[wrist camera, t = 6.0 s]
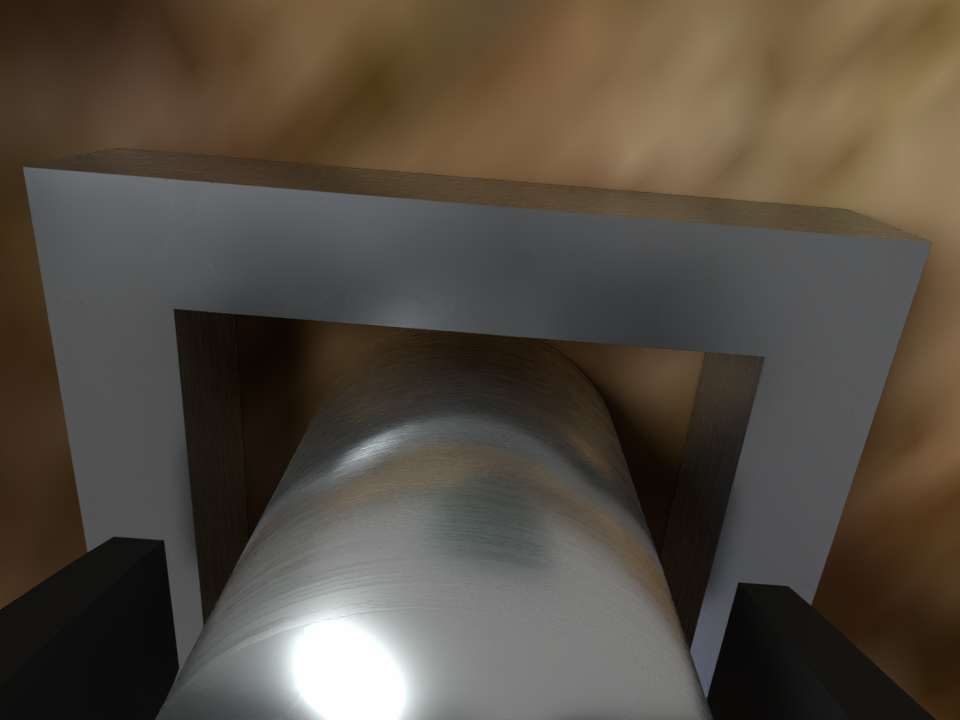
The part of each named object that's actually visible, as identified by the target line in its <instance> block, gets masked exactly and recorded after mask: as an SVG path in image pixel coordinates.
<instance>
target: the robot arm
mask: <svg viewBox="0 0 960 720" xmlns="http://www.w3.org/2000/svg"><path fill="white" fill-rule="evenodd" d="M178 671H179V660H178V652H177V644H176V635H175V627H174V618H173V610H172V602H171V593H170V585H169V577H168V568H167V560H166V551H165V543H164V540H155V539H141V538H128V537H112V538H111V539H109V540H107V541H106V542H104V543H102V544H100V545H99V546H97V547H96V548H94V549H92V550H91V551H89V552H88V553H86V554H84V555H83V556H81V557H80V558H78V559H77V560H75V561H74V562H72V563H71V564H69V565H67V566H66V567H64V568H63V569H61V570H60V571H58V572H57V573H55V574H54V575H52V576H51V577H49V578H48V579H46V580H45V581H43V582H42V583H40V584H39V585H37V586H36V587H34V588H33V589H31V590H30V591H28V592H27V593H25V594H24V595H22V596H21V597H19V598H18V599H16V600H15V601H13V602H12V603H10V604H8V605H7V606H5V607H4V608H2V609H1V610H0V720H155V719H156V717H157V715H158V713H159V711H160V709H161V708H162V706H163V704H164V702H165V700H166V698H167V696H168V694H169V692H170V690H171V688H172V686H173V684H174V681H175V679H176V676H177V673H178ZM706 700H707V703H708V706H709V709H710V712H711V715H712V718H713V720H935V719H934V718H933V717H932V716H931V715H930V714H929V713H928V712H927V711H925V710H924V709H923V708H922V707H921V706H920V705H919V704H918V703H917V702H915V701H914V700H913V699H912V698H911V697H910V696H909V695H908V694H907V693H906V692H904V691H903V690H902V689H901V688H900V687H899V686H898V685H897V684H896V683H895V682H893V681H892V680H891V679H890V678H889V677H888V676H887V675H886V674H885V673H884V672H883V671H882V670H880V669H879V668H878V667H877V666H876V665H875V664H874V663H873V662H872V661H871V660H870V659H869V658H867V657H866V656H865V655H864V654H863V653H862V652H861V651H860V650H859V649H858V648H857V647H856V646H854V645H853V644H852V643H851V642H850V641H849V640H848V639H847V638H846V637H845V636H844V635H843V634H841V633H840V632H839V631H838V630H837V629H836V628H835V627H834V626H833V625H832V624H831V623H830V622H828V621H827V620H826V619H825V618H824V617H823V616H822V615H821V614H820V613H819V612H817V611H816V610H815V609H814V608H813V607H812V606H811V605H810V604H809V603H807V602H806V601H805V600H804V599H803V598H802V597H801V596H799V595H798V594H797V593H796V592H795V591H794V590H792V589H791V588H790V587H789V586H782V585H769V584H755V583H741V582H738V585H737V589H736V593H735V596H734V600H733V604H732V607H731V611H730V615H729V618H728V622H727V626H726V629H725V633H724V637H723V640H722V644H721V648H720V651H719V655H718V659H717V662H716V666H715V670H714V674H713V677H712V681H711V685H710V688H709V692H708V696H707V699H706Z"/></svg>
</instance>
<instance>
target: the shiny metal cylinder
mask: <svg viewBox="0 0 960 720" xmlns="http://www.w3.org/2000/svg"><path fill="white" fill-rule="evenodd" d="M155 720H713V718H712V715H711V712H710V709H709V706H708V703H707V700H706V697H705V694H704V691H703V688H702V685H701V682H700V679H699V676H698V673H697V670H696V667H695V664H694V661H693V658H692V655H691V652H690V650H689V647H688V644H687V641H686V638H685V635H684V632H683V629H682V626H681V623H680V620H679V617H678V614H677V611H676V608H675V605H674V602H673V599H672V596H671V593H670V590H669V587H668V584H667V582H666V579H665V576H664V573H663V570H662V567H661V564H660V561H659V558H658V555H657V552H656V549H655V546H654V543H653V540H652V537H651V534H650V531H649V528H648V525H647V522H646V519H645V516H644V513H643V511H642V508H641V505H640V502H639V499H638V496H637V493H636V490H635V487H634V484H633V481H632V478H631V475H630V472H629V469H628V466H627V463H626V460H625V457H624V454H623V451H622V448H621V445H620V442H619V440H618V437H617V434H616V431H615V428H614V425H613V422H612V419H611V416H610V413H609V411H608V409H607V407H606V405H605V403H604V401H603V399H602V397H601V395H600V394H599V392H598V391H597V390H596V388H595V387H594V385H593V384H592V383H591V381H590V380H589V379H588V378H587V377H586V376H585V375H584V373H583V372H582V371H581V370H580V369H579V368H578V367H577V366H576V365H575V364H574V363H572V362H571V361H570V360H568V359H567V358H566V357H565V356H563V355H562V354H561V353H560V352H558V351H557V350H555V349H553V348H552V347H550V346H548V345H547V344H545V343H543V342H542V341H539V340H537V339H535V338H528V337H515V336H503V335H490V334H478V333H466V332H453V331H441V330H429V329H416V328H414V329H411V330H409V331H406V332H403V333H400V334H397V335H394V336H392V337H390V338H388V339H386V340H384V341H382V342H380V343H378V344H376V345H375V346H373V347H372V348H370V349H369V350H367V351H366V352H364V353H363V354H362V355H360V356H359V357H357V358H356V359H355V360H354V361H353V362H352V363H351V364H350V365H349V366H348V367H347V368H345V369H344V370H343V372H342V373H341V374H340V375H339V377H338V378H337V379H336V380H335V381H334V383H333V384H332V385H331V387H330V389H329V390H328V392H327V394H326V395H325V397H324V399H323V400H322V402H321V404H320V406H319V408H318V410H317V412H316V413H315V415H314V417H313V419H312V421H311V423H310V425H309V427H308V429H307V431H306V433H305V434H304V436H303V438H302V440H301V442H300V444H299V446H298V448H297V450H296V452H295V454H294V456H293V457H292V459H291V461H290V463H289V465H288V467H287V469H286V471H285V473H284V475H283V477H282V478H281V480H280V482H279V484H278V486H277V488H276V490H275V492H274V494H273V496H272V498H271V499H270V501H269V503H268V505H267V507H266V509H265V511H264V513H263V515H262V517H261V519H260V520H259V522H258V524H257V526H256V528H255V530H254V532H253V534H252V536H251V538H250V540H249V541H248V543H247V545H246V547H245V549H244V551H243V553H242V555H241V557H240V559H239V561H238V562H237V564H236V566H235V568H234V570H233V572H232V574H231V576H230V578H229V580H228V582H227V583H226V585H225V587H224V589H223V591H222V593H221V595H220V597H219V599H218V601H217V603H216V604H215V606H214V608H213V610H212V612H211V614H210V616H209V618H208V620H207V622H206V624H205V625H204V627H203V629H202V631H201V633H200V635H199V637H198V639H197V641H196V643H195V645H194V646H193V648H192V650H191V652H190V654H189V656H188V658H187V660H186V662H185V664H184V666H183V667H182V669H181V671H180V673H179V675H178V677H177V679H176V681H175V683H174V685H173V687H172V688H171V690H170V692H169V694H168V696H167V698H166V700H165V702H164V704H163V706H162V708H161V709H160V711H159V713H158V715H157V717H156V719H155Z"/></svg>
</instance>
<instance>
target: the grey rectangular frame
mask: <svg viewBox="0 0 960 720" xmlns="http://www.w3.org/2000/svg"><path fill="white" fill-rule="evenodd" d="M23 171H24V177H25V183H26V189H27V195H28V201H29V207H30V212H31V218H32V224H33V230H34V236H35V242H36V248H37V254H38V260H39V266H40V272H41V278H42V284H43V290H44V296H45V302H46V308H47V314H48V320H49V326H50V332H51V338H52V344H53V350H54V356H55V362H56V367H57V373H58V379H59V385H60V391H61V397H62V403H63V409H64V415H65V421H66V427H67V433H68V439H69V445H70V451H71V457H72V463H73V469H74V475H75V481H76V487H77V493H78V499H79V505H80V511H81V516H82V522H83V528H84V534H85V540H86V546H87V552H89V551H91V550H92V549H94V548H96V547H97V546H99V545H100V544H102V543H104V542H106V541H107V540H109V539H111V538H112V537H128V538H141V539H155V540H164V543H165V551H166V560H167V568H168V577H169V585H170V593H171V602H172V610H173V618H174V627H175V635H176V644H177V652H178V660H179V671H178V673H177V676H176V679H177V677H178V675H179V673H180V671H181V669H182V667H183V666H184V664H185V662H186V660H187V658H188V656H189V654H190V652H191V650H192V648H193V646H194V645H195V643H196V641H197V639H198V637H199V635H200V633H201V631H202V629H203V627H204V625H205V624H206V622H207V620H208V618H209V616H210V614H211V612H212V610H213V608H214V606H215V604H216V603H217V601H218V599H219V597H220V595H221V593H222V591H223V589H224V587H225V585H226V583H227V582H228V580H229V578H230V576H231V574H232V572H233V570H234V568H235V566H236V564H237V562H238V561H239V559H240V557H241V555H242V553H243V551H244V549H245V547H246V545H247V543H248V541H249V536H248V519H247V502H246V485H245V468H244V451H243V434H242V417H241V400H240V383H239V366H238V349H237V331H236V314H243V315H255V316H267V317H280V318H292V319H305V320H317V321H329V322H342V323H354V324H367V325H379V326H391V327H404V328H416V329H429V330H441V331H453V332H466V333H478V334H490V335H503V336H515V337H528V338H540V339H552V340H565V341H577V342H590V343H602V344H614V345H627V346H639V347H652V348H664V349H676V350H689V351H701V352H705V356H704V361H703V365H702V370H701V375H700V379H699V384H698V388H697V393H696V397H695V402H694V406H693V411H692V416H691V420H690V425H689V429H688V434H687V438H686V443H685V447H684V452H683V457H682V461H681V466H680V470H679V475H678V479H677V484H676V489H675V493H674V498H673V502H672V507H671V511H670V516H669V520H668V525H667V530H666V534H665V539H664V543H663V548H662V552H661V557H660V564H661V567H662V570H663V573H664V576H665V579H666V582H667V584H668V587H669V590H670V593H671V596H672V599H673V602H674V605H675V608H676V611H677V614H678V617H679V620H680V623H681V626H682V629H683V632H684V635H685V638H686V641H687V644H688V647H689V650H690V652H691V655H692V658H693V661H694V664H695V667H696V670H697V673H698V676H699V679H700V682H701V685H702V688H703V691H704V694H705V697H706V699H707V696H708V692H709V688H710V685H711V681H712V677H713V674H714V670H715V666H716V662H717V659H718V655H719V651H720V648H721V644H722V640H723V637H724V633H725V629H726V626H727V622H728V618H729V615H730V611H731V607H732V604H733V600H734V596H735V593H736V589H737V585H738V582H741V583H755V584H769V585H782V586H789V587H790V588H791V589H792V590H794V591H795V592H796V593H797V594H798V595H799V596H801V597H802V598H803V599H804V600H805V601H806V602H807V603H809V604H810V605H812V602H813V599H814V596H815V593H816V590H817V587H818V584H819V581H820V578H821V575H822V572H823V569H824V566H825V563H826V560H827V557H828V554H829V551H830V548H831V545H832V542H833V539H834V536H835V533H836V530H837V527H838V524H839V521H840V518H841V515H842V512H843V509H844V506H845V503H846V500H847V496H848V493H849V490H850V487H851V484H852V481H853V478H854V475H855V472H856V469H857V466H858V463H859V460H860V457H861V454H862V451H863V448H864V445H865V442H866V439H867V436H868V433H869V430H870V427H871V424H872V421H873V418H874V415H875V412H876V409H877V406H878V403H879V400H880V397H881V394H882V391H883V388H884V385H885V382H886V379H887V376H888V373H889V370H890V367H891V364H892V361H893V358H894V355H895V352H896V349H897V346H898V343H899V340H900V337H901V334H902V331H903V328H904V325H905V322H906V319H907V316H908V313H909V310H910V307H911V304H912V301H913V298H914V295H915V292H916V289H917V286H918V283H919V280H920V277H921V274H922V271H923V268H924V265H925V262H926V259H927V256H928V253H929V250H930V247H931V244H932V242H929V241H927V240H924V239H922V238H919V237H917V236H914V235H911V234H909V233H906V232H904V231H901V230H899V229H896V228H894V227H891V226H888V225H886V224H883V223H881V222H878V221H876V220H873V219H871V218H868V217H865V216H863V215H860V214H858V213H855V212H853V211H850V210H848V209H837V208H825V207H813V206H801V205H789V204H777V203H765V202H753V201H741V200H729V199H717V198H705V197H693V196H681V195H670V194H658V193H646V192H634V191H622V190H610V189H598V188H586V187H574V186H562V185H550V184H538V183H526V182H514V181H502V180H490V179H478V178H466V177H454V176H442V175H431V174H419V173H407V172H395V171H383V170H371V169H359V168H347V167H335V166H323V165H311V164H299V163H287V162H275V161H263V160H251V159H239V158H227V157H215V156H203V155H192V154H180V153H168V152H156V151H144V150H132V149H120V148H113V149H108V150H103V151H98V152H94V153H89V154H84V155H79V156H74V157H69V158H64V159H59V160H54V161H49V162H44V163H39V164H34V165H30V166H25V167H23ZM176 679H175V681H176ZM175 681H174V683H175ZM173 685H174V684H173ZM172 687H173V686H172Z"/></svg>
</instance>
